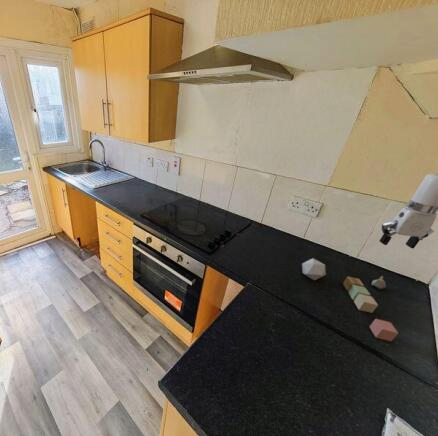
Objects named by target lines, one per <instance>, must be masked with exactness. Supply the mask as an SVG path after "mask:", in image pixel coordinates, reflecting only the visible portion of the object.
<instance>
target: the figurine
mask: <svg viewBox="0 0 438 436" xmlns="http://www.w3.org/2000/svg"><path fill="white" fill-rule="evenodd" d="M371 286H373V287H375V288H376V289H377V290H384V288H386V287H387V284H386V282H385V280H384V275H380V277H379V278H378V279H373V280H372V281H371Z"/></svg>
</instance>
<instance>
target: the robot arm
mask: <svg viewBox="0 0 438 436" xmlns="http://www.w3.org/2000/svg"><path fill="white" fill-rule="evenodd" d="M437 212H438V173H429V174H427V175H425V177H424V178H423V180H422V181H421V182H420V185H419V186H418V188H417V189H416V191H415V192H414V193H413V195H412V196H411V198H410V200H409V201H408V202H406V203H405V206H404V207H403V208H402V209H401V210H400V211H399V212H398V213H397V214H396V215H395V217H394V218H393V219H392V221H389V222H384V223H382V224H381V231H382V233H383V235H382V236H381V237H380V239H379V243H381V244H382V245H384V246H387V245H388V244H389V243H390V241H391V239H392V236H395V235H399V236H408V237H409V238H408V240H407V241H406V242H405V245H406V246H407V247H408V248H410V249H415V247H416V246H417V245H418V243H419V242H420V241H422V240H424V239H425V238H427V237H429V236H430V235H432V234H433V233H434V232H435V230H434V229H432V227H433V225H434V223H435V221H436V218H437V215H438V214H437Z"/></svg>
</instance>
